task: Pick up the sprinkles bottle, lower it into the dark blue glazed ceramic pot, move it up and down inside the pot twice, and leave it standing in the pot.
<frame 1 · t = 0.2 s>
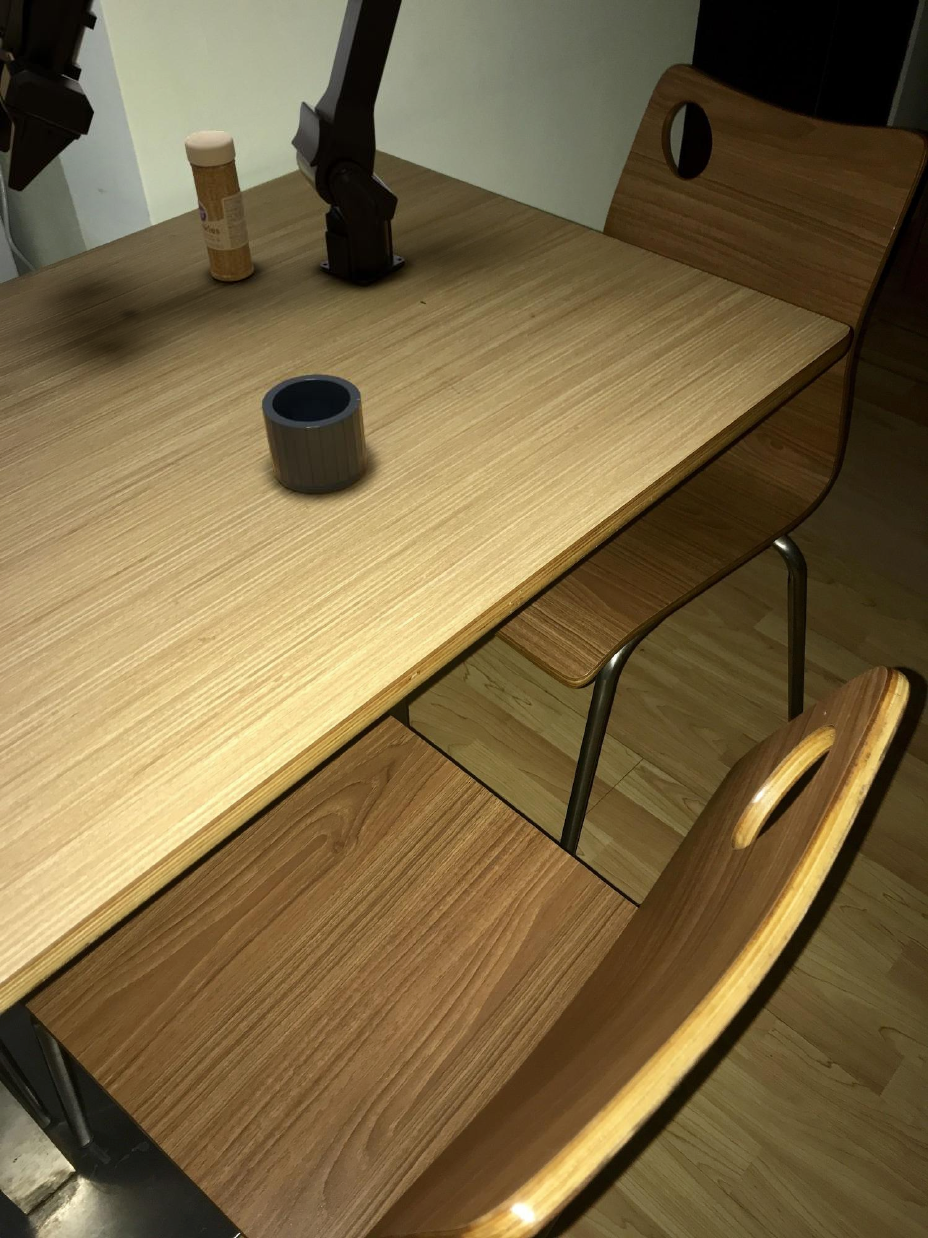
hand: (6, 168, 85), 15 cm above the table, tool tilted 30°, fingers open, 9 cm apart
pot: (320, 465, 79), on the table
sprinkles bottle: (233, 274, 103), on the table
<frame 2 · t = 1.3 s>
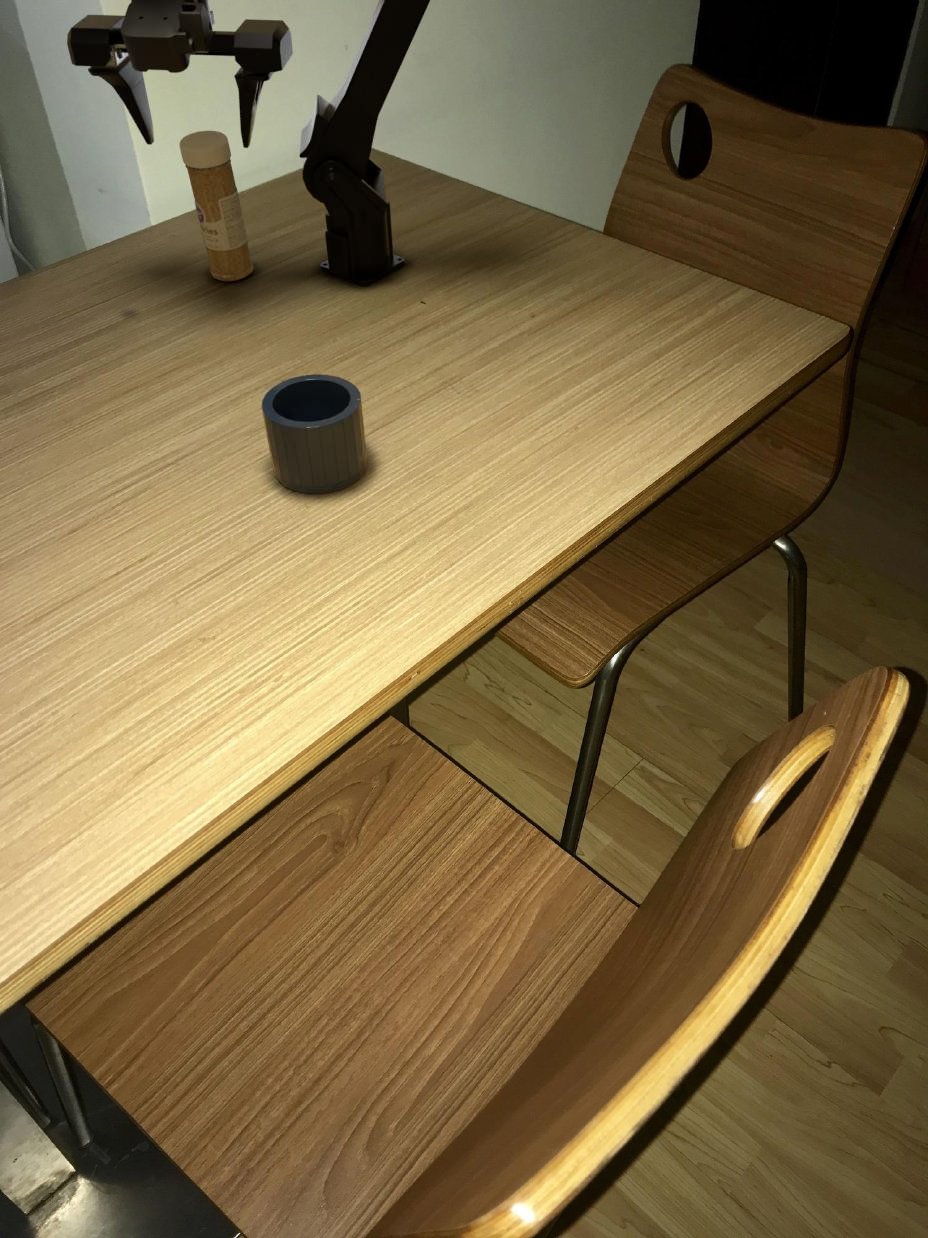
hand: (198, 144, 94), 13 cm above the table, tool pointing down, fingers open, 9 cm apart
nothing on the table moved.
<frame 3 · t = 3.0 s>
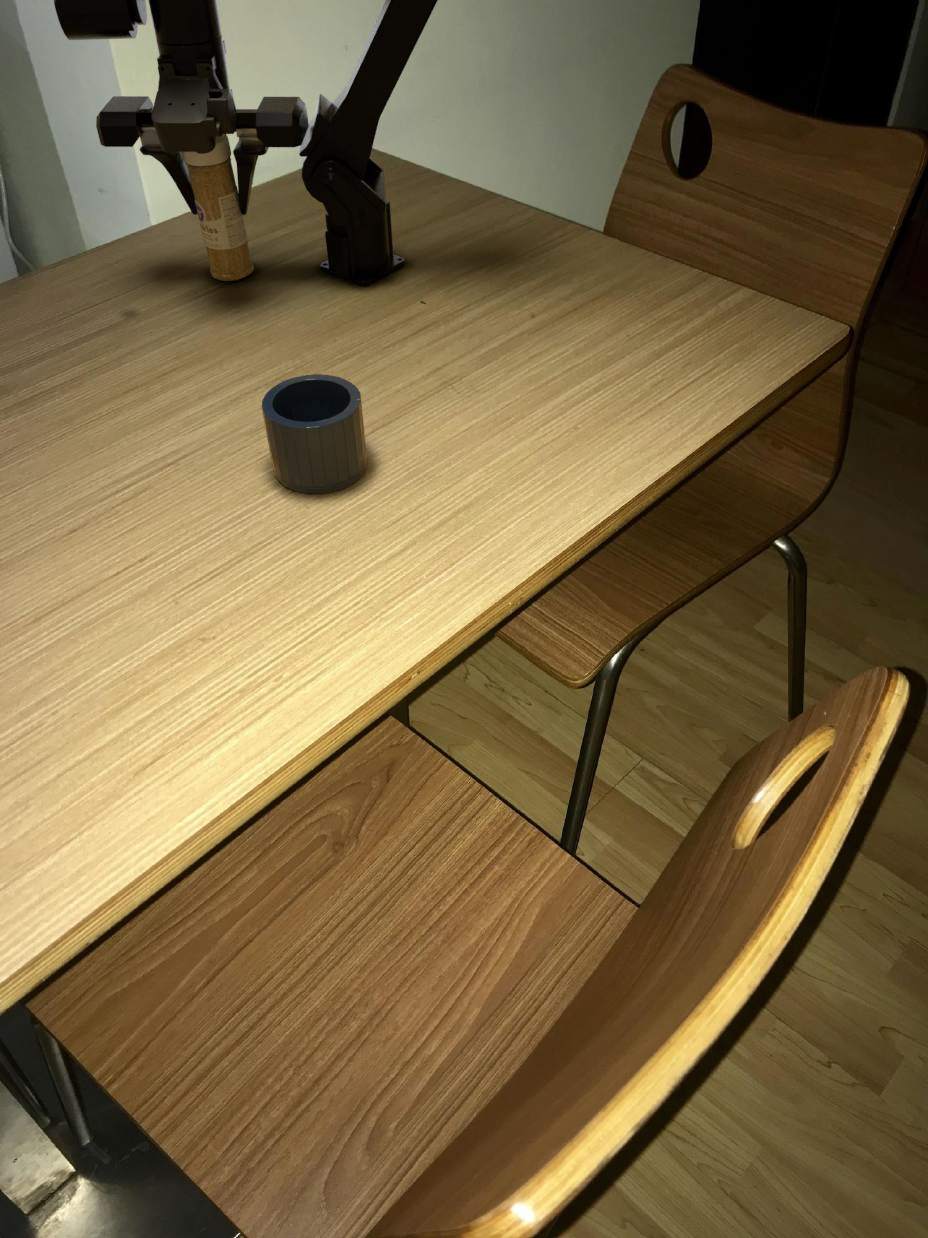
hand: (220, 213, 99), 6 cm above the table, tool pointing down, fingers closed on sprinkles bottle, 4 cm apart
sprinkles bottle: (233, 274, 103), on the table, touching gripper
when the fingers open (7 cm above the table, at t = 14.5 s): sprinkles bottle stays where it is, resting on pot.
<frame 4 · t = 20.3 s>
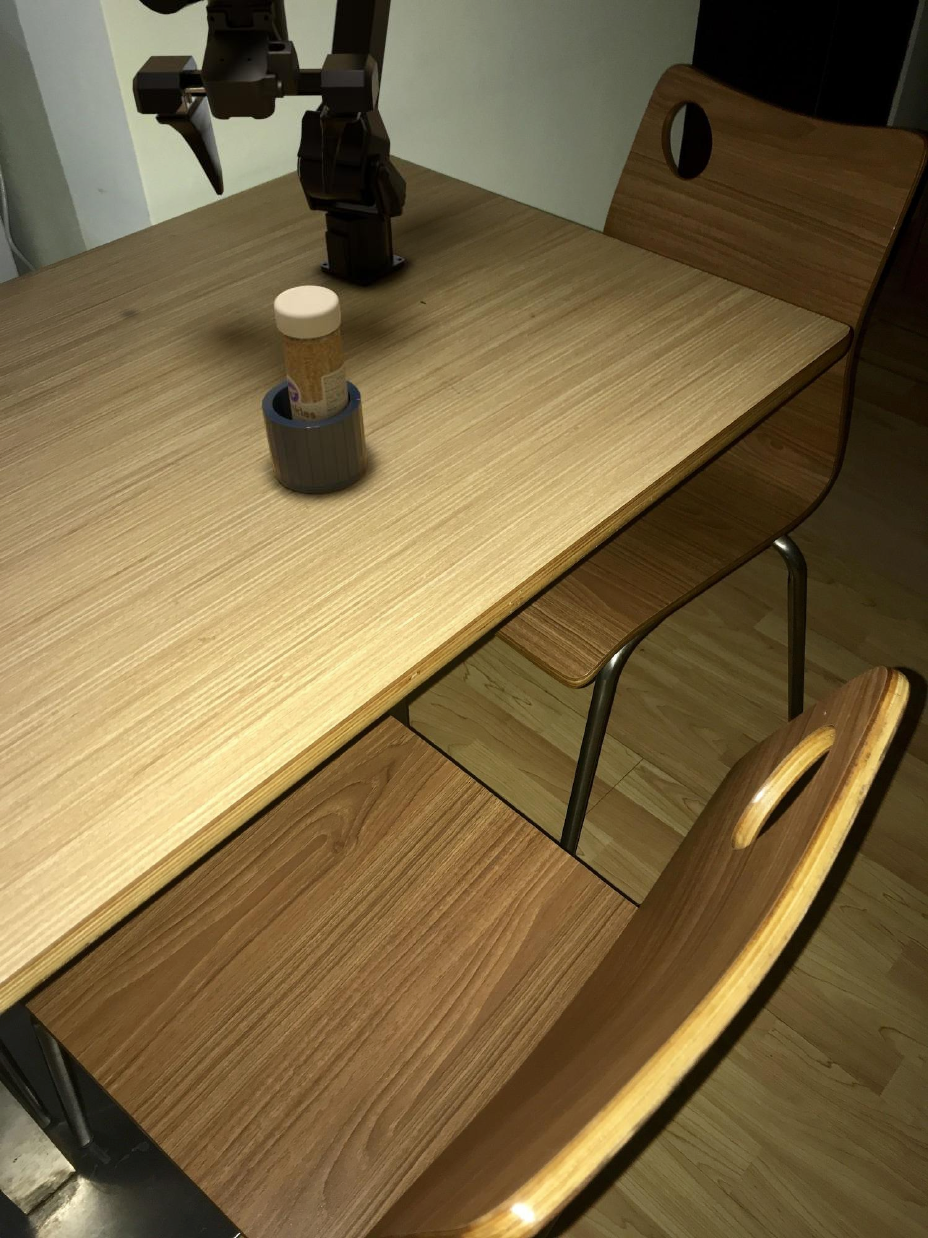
hand: (274, 192, 85), 13 cm above the table, tool pointing down, fingers open, 9 cm apart
sprinkles bottle: (327, 460, 78), resting on pot
at the end: sprinkles bottle 0.6 cm off-centre in the pot, point 0.4 cm above the pot's base; sprinkles bottle tilted 0°; the gripper is holding nothing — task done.
